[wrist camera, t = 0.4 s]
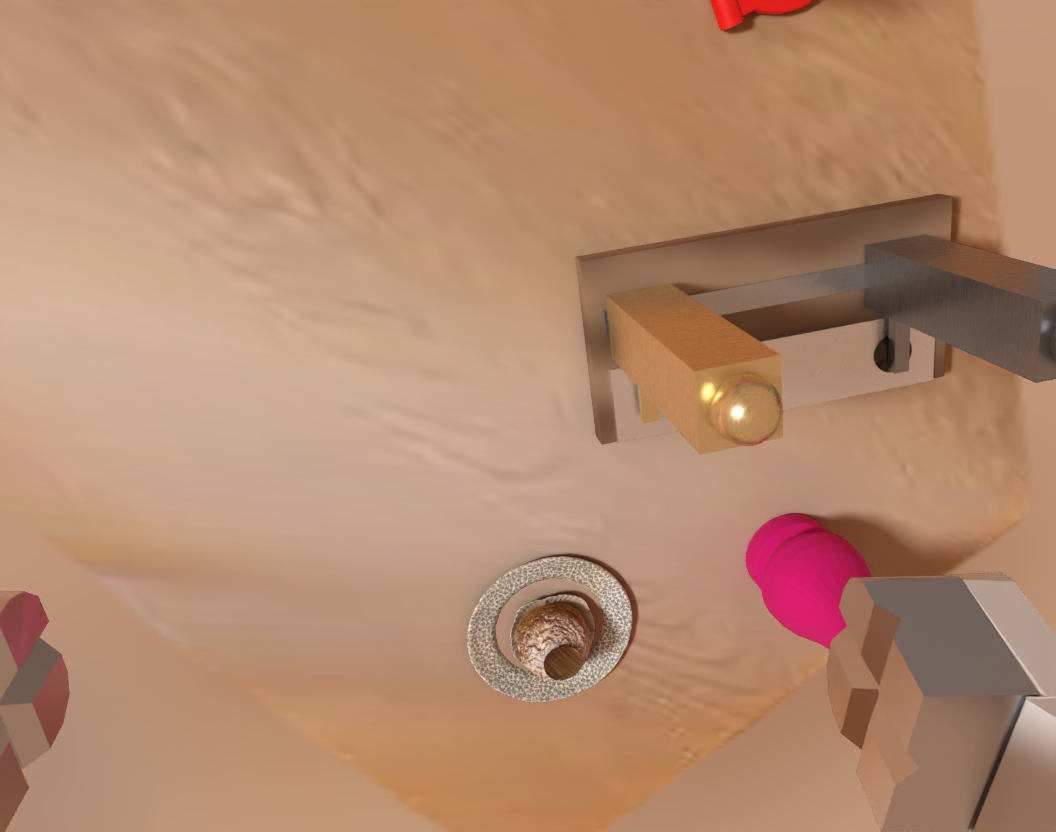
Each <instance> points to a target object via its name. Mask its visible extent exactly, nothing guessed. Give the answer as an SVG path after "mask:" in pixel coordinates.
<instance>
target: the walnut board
mask: <svg viewBox="0 0 1056 832" xmlns="http://www.w3.org/2000/svg"><path fill="white" fill-rule="evenodd" d="M952 198H953V197H951V196H946V195H941V194H935V195H929V196H924V197H918V198H912V199H906V200H901V201H895V202H889V203H883V204H877V205H872V206H866V207H860V208H854V209H849V210H843V211H837V212H831V213H826V214H820V215H814V216H808V217H803V218H797V219H791V220H785V221H780V222H774V223H768V224H762V225H756V226H751V227H745V228H739V229H733V230H728V231H722V232H716V233H710V234H705V235H699V236H693V237H687V238H682V239H676V240H670V241H664V242H659V243H653V244H647V245H641V246H636V247H630V248H624V249H618V250H612V251H607V252H601V253H595V254H589V255H584V256H578V257H576V265H577V274H578V283H579V291H580V300H581V309H582V318H583V326H584V335H585V344H586V352H587V361H588V370H589V379H590V387H591V396H592V405H593V413H594V422H595V431H596V437H597V438H598V439H599V441H600V442H601V444H607V443H612V442H617V439H616V429H615V420H614V410H613V401H612V391H611V382H610V372H609V369H612V368H617V367H619V366H618V365H617V364H616V363H615V361H614V360H613V359H612V355H611V346H610V336H606V334H605V325H604V315H603V310H607V307H606V297H605V295H608V294H614V293H619V292H625V291H630V290H636V289H641V288H647V287H653V286H658V285H664V284H669V283H670V284H671V285H673V286H675V287H676V288H678V289H679V290H681V291H682V292H684V293H685V294H687V295H691V294H696V293H702V292H707V291H713V290H718V289H724V288H729V287H735V286H740V285H746V284H751V283H757V282H762V281H768V280H773V279H779V278H784V277H790V276H795V275H801V274H806V273H812V272H817V271H823V270H828V269H834V268H840V267H845V266H851V265H856V264H862V263H865V245H867V244H873V243H879V242H884V241H890V240H895V239H901V238H906V237H912V236H918V235H923V234H924V235H928V236H932V237H935V238H939V239H943V240H947V241H951V219H952ZM720 316H721V317H723V318H724V319H726V320H727V321H729V322H730V323H732V324H734V325H735V326H737V327H738V328H740V329H741V330H743V331H744V332H746V333H748V334H749V335H751V336H752V337H754V338H755V339H757V340H758V341H759V340H764V339H770V338H775V337H780V336H786V335H791V334H796V333H801V332H807V331H812V330H817V329H822V328H828V327H833V326H838V325H843V324H849V323H854V322H859V321H865V320H870V319H875V318H880V317H886V316H884V315H882V314H879V313H877V312H875V311H873V310H870V309H868V308H866V307H864V289H859V290H854V291H848V292H843V293H838V294H832V295H827V296H822V297H816V298H811V299H805V300H800V301H795V302H789V303H784V304H778V305H773V306H768V307H762V308H757V309H751V310H746V311H741V312H735V313H730V314H724V315H720ZM945 346H946V343H945V342H943V341H940V340H938V339H936V338H935V348H934V371H933V378H937V377H942V376H944V367H945Z"/></svg>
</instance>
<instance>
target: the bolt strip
mask: <svg viewBox="0 0 1056 832" xmlns="http://www.w3.org/2000/svg"><path fill="white" fill-rule="evenodd" d="M864 266H865V263H862V264H856V265H851V266H845V267H840V268H834V269H828V270H823V271H817V272H812V273H806V274H801V275H795V276H790V277H784V278H779V279H773V280H768V281H762V282H757V283H751V284H746V285H740V286H735V287H729V288H724V289H718V290H713V291H707V292H702V293H696V294H691V295H689V296H690V297H692V298H693V299H695V300H696V301H698V302H699V303H701V304H702V305H704V306H706V307H707V308H709V309H710V310H712V311H713V312H715V313H716V314H718V315H724V314H730V313H735V312H741V311H746V310H751V309H757V308H762V307H768V306H773V305H778V304H784V303H789V302H795V301H800V300H805V299H811V298H816V297H822V296H827V295H832V294H838V293H843V292H848V291H854V290H859V289H864ZM603 315H604V325H605V334H606V336H609V326H608V317H607V310H603ZM888 338H889V318H888V317H880V318H875V319H870V320H865V321H859V322H854V323H849V324H843V325H838V326H833V327H828V328H822V329H817V330H812V331H807V332H801V333H796V334H791V335H786V336H780V337H775V338H770V339H764V340H759V341H760V342H761V343H763V344H765V345H766V346H768V347H769V348H771V349H772V350H774V351H775V352H777V353H779V354H780V355H781V381H782V404H783V410H787V409H792V408H797V407H802V406H807V405H812V404H817V403H822V402H827V401H832V400H837V399H842V398H847V397H852V396H857V395H862V394H867V393H872V392H877V391H882V390H887V389H891V388H896V387H901V386H906V385H911V384H916V383H921V382H926V381H931V380H933V371H934V348H935V338H934V337H931V336H929V335H927V334H924V333H922V332H920V331H918V330H915V329H913V328H911V327H910V351H909V371H906V372H901V373H896V374H894V373H892V372H890V371H888ZM609 372H610V382H611V391H612V401H613V410H614V420H615V429H616V439H617V442H618V443H622V442H627V441H632V440H637V439H642V438H647V437H652V436H657V435H662V434H667V433H672V432H677V431H678V430H677V429H676V428H675V427H674V426H673V425H672V423H671V422H670V421H669V420H668V419H667V418H666V417H665V416H664V415H663V414H662V413H661V411H660V410H659V409H658V416H659V421H654V422H649V423H644V424H643V422H642V421H641V417H640V407H639V396H638V386H637V385H636V384H635V383H634V382H633V381H632V380H631V379H630V378H629V377H628V376H627V374H626V373H625V372H624V371H623V370H622V369H621V368H620V367H617V368H612V369H609Z"/></svg>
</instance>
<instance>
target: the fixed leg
mask: <svg viewBox="0 0 1056 832" xmlns="http://www.w3.org/2000/svg"><path fill="white" fill-rule="evenodd" d="M864 307H866V308H868V309H870V310H873V311H875V312H877V313H879V314H882V315H884V316H886V317H888V318H889V338H888V371H890V372H892V373H894V374H896V373H901V372H906V371H909V351H910V327H911V328H913V329H915V330H918V331H920V332H922V333H924V334H927V335H929V336H931V337H934V338H936V339H938V340H940V341H943V342H945V343H947V344H949V345H952V346H954V347H956V348H958V349H961V350H963V351H965V352H967V353H970V354H972V355H974V356H976V357H979V358H981V359H983V360H986V361H988V362H990V363H992V364H995V365H997V366H999V367H1001V368H1004V369H1006V370H1008V371H1010V372H1013V373H1015V374H1017V375H1019V376H1022V377H1024V378H1026V379H1029V380H1031V381H1033V382H1035V383H1038V382H1043V381H1047V380H1052V379H1056V270H1055V269H1051V268H1048V267H1044V266H1040V265H1036V264H1033V263H1029V262H1025V261H1021V260H1018V259H1014V258H1010V257H1007V256H1003V255H999V254H995V253H992V252H988V251H984V250H980V249H977V248H973V247H969V246H965V245H962V244H958V243H954V242H950V241H947V240H943V239H939V238H935V237H932V236H928V235H924V234H923V235H918V236H912V237H906V238H901V239H895V240H890V241H884V242H879V243H873V244H867V245H865V266H864Z"/></svg>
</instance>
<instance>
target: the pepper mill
mask: <svg viewBox="0 0 1056 832" xmlns="http://www.w3.org/2000/svg"><path fill="white" fill-rule="evenodd" d="M746 566H747V569H748V572H749V574H750V576H751V578H752V579H753V580H754V581H755V583H756V584H757V585H758V586H759V588H760V589H761V590H762V597H763V600H764V603H765V605H766V607H767V609H768V610H769V612H770V613H771V614H772V615H773V616H774V617H775V618H776V619H777V620H778V621H779V622H780V623H781V624H782V625H783V626H784V627H786V628H787V629H789V630H790V631H792V632H793V633H795V634H797V635H798V636H801V637H804V638H806V639H809V640H812V641H814V642H817V643H819V644H821V645H823V646H825V647H826V648H828V649H829V650H830V645H831V640H832V639H833V638H835V637H836V636H837V635H838V634H839V633H840V632H841V631H842V630H844V629H845V628H846V627H847V624H846V622H845V620H844V618H843V615H842V613H841V611H840V609H839V605H840V601H841V597H842V593H843V589H844V587H845V586H846V584H847V583H848V581H849V580H850V578H857V577H871V574H870V572H869V569H868V567H867V565H866V563H865V561H864V559H863V558H862V556H861V555H860V554H859V553H858V551H857V550H856V549H855V548H854V547H853V546H852V545H851V544H850V543H849V542H848V541H846V540H845V539H843V538H841V537H840V536H838V535H834V534H831V533H828V532H827V531H826V530H825V529H824V528H823V527H822V526H821V525H820V524H819V523H818V522H817V521H815V520H814V519H812V518H811V517H809V516H805V515H802V514H787V515H782V516H780V517H777V518H774V519H772V520H770V521H769V522H767V523H766V524H765V525H763V526H762V527H761V528H760V529H759V530H758V531H757V532H756V533H755V535H754V536H753V538H752V540H751V541H750V543H749V546H748V549H747V553H746Z"/></svg>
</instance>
